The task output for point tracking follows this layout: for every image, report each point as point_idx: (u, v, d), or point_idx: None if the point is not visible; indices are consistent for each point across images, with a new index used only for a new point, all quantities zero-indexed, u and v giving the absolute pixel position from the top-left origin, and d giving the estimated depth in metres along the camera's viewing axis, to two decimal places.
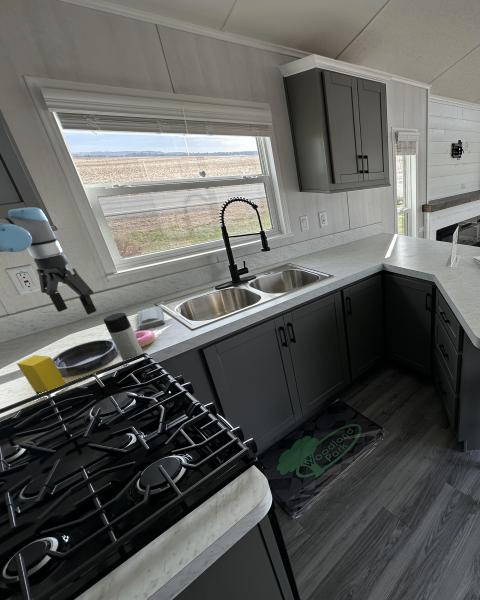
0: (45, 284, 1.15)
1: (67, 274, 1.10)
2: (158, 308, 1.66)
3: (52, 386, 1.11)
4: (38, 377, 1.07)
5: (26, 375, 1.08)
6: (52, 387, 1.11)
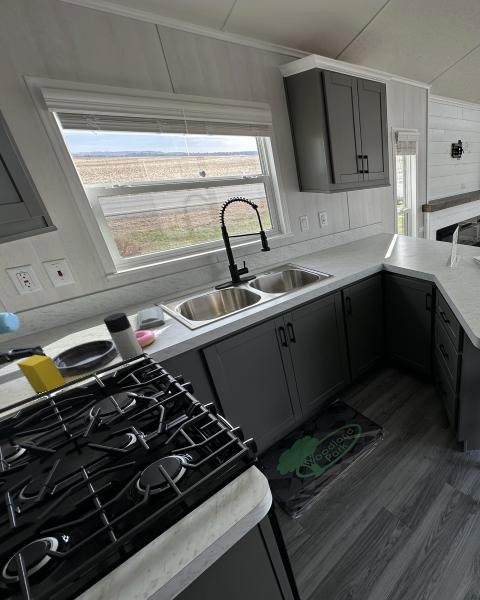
0: None
1: (13, 348, 1.20)
2: (158, 308, 1.66)
3: (52, 386, 1.11)
4: (38, 377, 1.07)
5: (26, 375, 1.08)
6: (52, 387, 1.11)
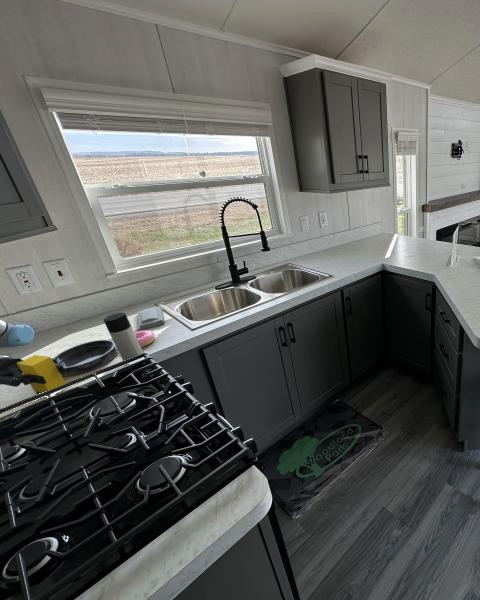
0: None
1: None
2: (158, 308, 1.66)
3: (52, 386, 1.11)
4: None
5: None
6: (52, 387, 1.11)
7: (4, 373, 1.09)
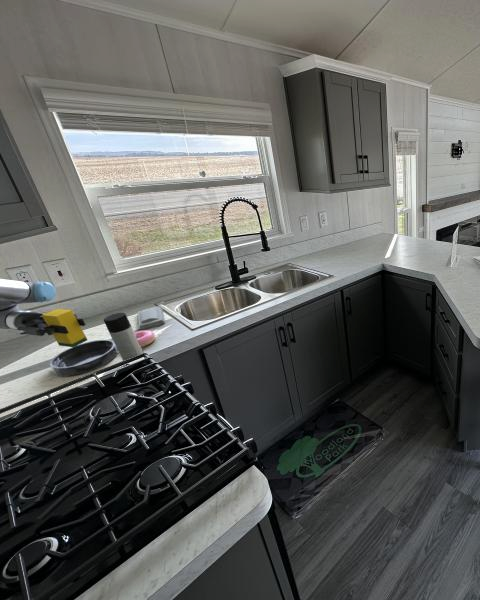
0: None
1: None
2: (158, 308, 1.66)
3: (73, 337, 1.20)
4: None
5: None
6: (73, 338, 1.20)
7: (29, 325, 1.19)
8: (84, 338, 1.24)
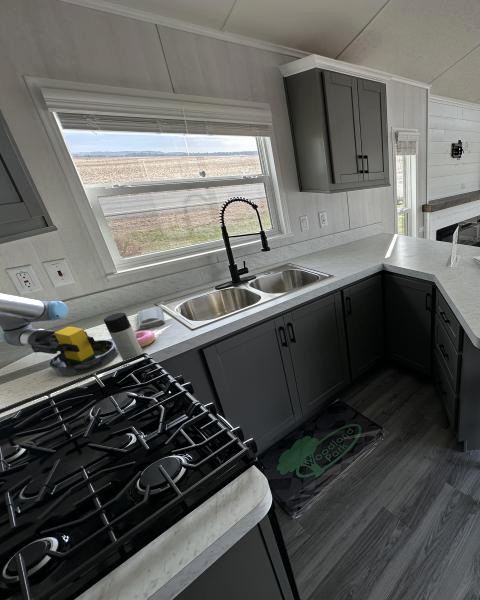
0: None
1: None
2: (158, 308, 1.66)
3: (83, 354, 1.26)
4: None
5: (61, 343, 1.24)
6: (83, 355, 1.26)
7: (42, 343, 1.25)
8: (92, 355, 1.30)
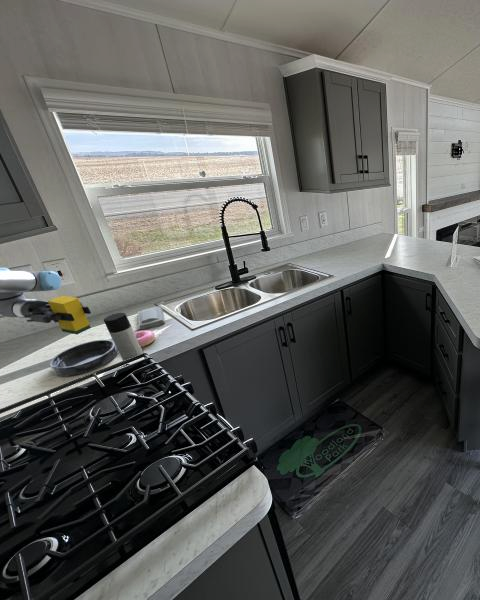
0: None
1: None
2: (158, 308, 1.66)
3: (78, 324, 1.22)
4: None
5: (55, 312, 1.20)
6: (77, 325, 1.22)
7: (36, 312, 1.21)
8: (88, 326, 1.26)
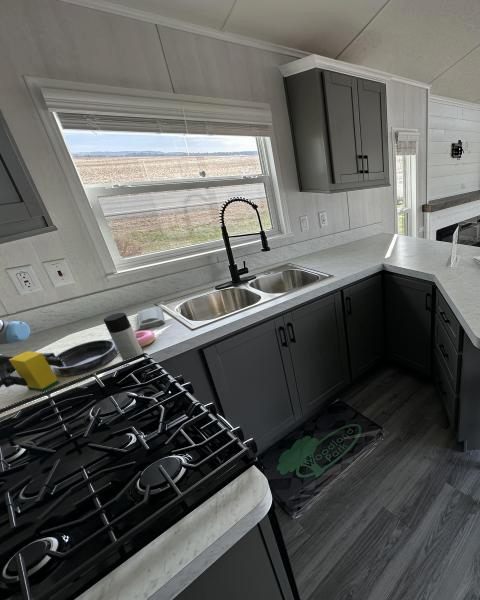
0: None
1: None
2: (158, 308, 1.66)
3: (44, 381, 1.13)
4: (29, 373, 1.10)
5: (18, 371, 1.11)
6: (43, 382, 1.13)
7: None
8: (56, 381, 1.16)
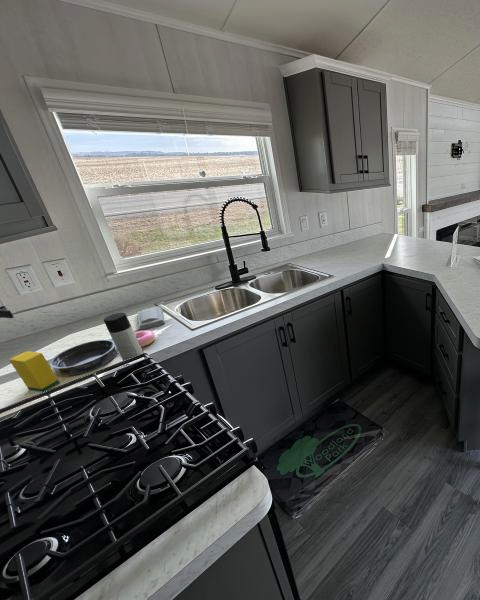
0: None
1: None
2: (158, 308, 1.66)
3: (44, 381, 1.13)
4: (29, 373, 1.10)
5: (18, 371, 1.11)
6: (43, 382, 1.13)
7: None
8: (56, 381, 1.16)
